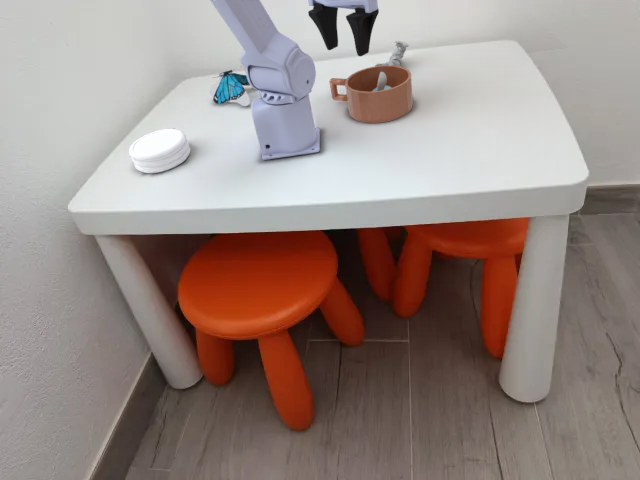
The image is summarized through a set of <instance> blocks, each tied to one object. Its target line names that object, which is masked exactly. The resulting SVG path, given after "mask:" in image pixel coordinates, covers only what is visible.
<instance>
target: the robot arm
mask: <svg viewBox="0 0 640 480" xmlns="http://www.w3.org/2000/svg"><path fill="white" fill-rule="evenodd" d="M209 2H211V4H212V5H213V6H214V8H215V9H216V11H217V13H219V16H220V17H221V18H222V20H223V21H224V22H225V24H226V25H227V27H228V28H229V29H230V31H231V33H232V34H233V36H234V37H235V39H236V40H237V42H238V43H239V44H240V46H241V47H242V51H241V54H240V57H239V62H240V64H241V66H242V67H243V68H244V71H245V75H246V76H247V80H248V82H249V84H250V87H251V88H252V89H253V90H255V91H257V92H258V96H259V97H257V98H254V99H252V100H251V116H252V121H253V127H254V130H255V133H256V137H257V141H258V145H259V148H260V151H261V158H262V160H263V161H266V160H273V159H280V158H286V157H294V156H295V157H296V156H301V155H307V154H313V153H314V154H315V153H319V152H320V150H321V149H320V148H321V146H320V143H321V142H320V141H321V139H320V138H321V129H320V127H317V126H316V125H315V121H314V115H313V110H312V105H311V100H310V93H312V89H313V87H314V85H315V82H316V76H317V72H316V71H317V70H316V65H315V62H314V60H313V58H312V57H311V56H310V55H309V54H308V53H306V52H304V51H303V50H302V48H300V45H299V44H298V42H296V41H294V40H293V39H291V38H290V37H288V36H287V35H285V34H283V33H281V32H280V31H279V30H278V28H277V27H276V25H275V24H274V22H273V20H272V19H271V17H270V15H269V13H268V12H267V10H266V9H265V7H264V5H263V3H262V1H261V0H209ZM307 2H308V6H309V7H312V9H310V10H308V12H307V14H308V17H309V18H310V19H311V20H312V22H313V23H314V25H315V26H316V28H317V29H318V31H319V33H320V35H321V38H322V40H323V43H324V45H325V47H326V49H327V51H332V50H333V49H336V48H338V47H339V35H338V10H339V9H346V10H354V12H351V13H349V14H346V15H345V19H346V21H347V23H348V25H349V27H350V29H351V33H352V36H353V40H354V47H355V52H356V54H357V56H358V57H363V56H365V55H367V54H368V53H370V44H371V37H372V32H373V28H374V25H375V22H376V19H377V18H378V16H379V11H380V10H379V3H378V0H307Z"/></svg>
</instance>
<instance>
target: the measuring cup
mask: <svg viewBox="0 0 640 480" xmlns="http://www.w3.org/2000/svg"><path fill="white" fill-rule="evenodd" d="M380 72H384V73H385V74H386V77H387V83H386V85H387V86H390V87H391V88H390V89H386V90H381V91H373V90H374V89H375V88H377V84H378V79H379V75H380ZM412 79H413V78H412V73H411V71H410V70H409V69H407V68H405V67H403V66H393V65H383V66H375V65H373V66H370V67H366V68H362V69H359V70H357V71H356V72H353V73H352V74H350V75H349V76H348V77H347V78H341V77H339V78H338V77H331V78H330V79H329V88H330V94H331V99H332V100H333V101H337V102H347V108H348V113H349V116H350V117H351V118H352V119H353V120H355V121H357V122H362V123H367V124H375V123H376V124H377V123H378V124H379V123H386V122H390V121H395V120H397V119H400V118H402V117H404V116H405V115H407V114H408V113H409V112H410V111H411V110H412V108H413V105H414V101H413V100H414V99H413V98H414V97H413V82H412V81H413V80H412ZM338 86H341V87H342V86H343V87H345V93H339V92H338ZM371 91H373V92H371Z"/></svg>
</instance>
